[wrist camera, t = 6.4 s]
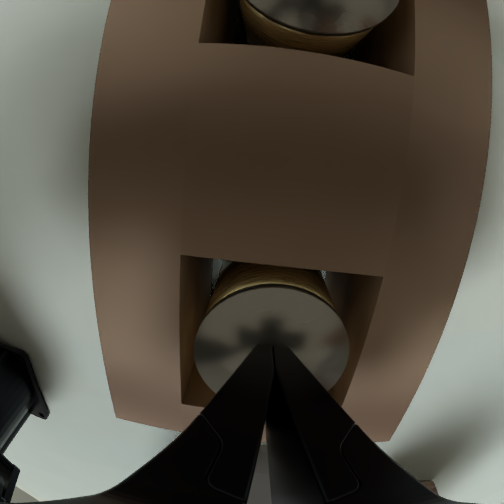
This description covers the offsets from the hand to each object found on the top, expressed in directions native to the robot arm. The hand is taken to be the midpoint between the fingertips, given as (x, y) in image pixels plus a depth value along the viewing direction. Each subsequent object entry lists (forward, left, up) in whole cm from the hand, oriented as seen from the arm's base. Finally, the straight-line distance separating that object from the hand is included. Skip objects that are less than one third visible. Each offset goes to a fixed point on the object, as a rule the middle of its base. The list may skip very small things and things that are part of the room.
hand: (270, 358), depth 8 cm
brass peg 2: (0, 0, -6) cm, 6 cm away
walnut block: (+5, 0, -6) cm, 8 cm away
